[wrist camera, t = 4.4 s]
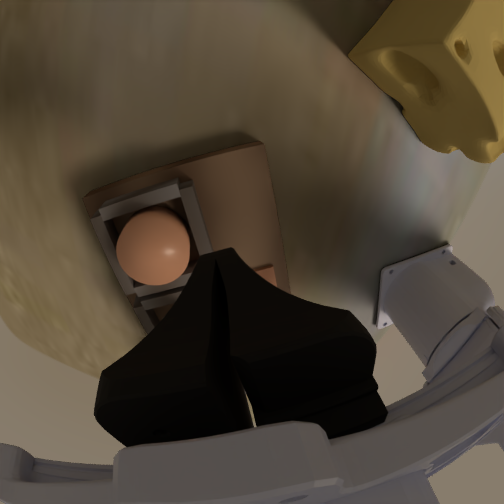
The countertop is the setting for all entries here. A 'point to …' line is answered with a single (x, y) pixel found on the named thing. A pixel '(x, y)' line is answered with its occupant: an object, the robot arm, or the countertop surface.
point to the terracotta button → (154, 246)
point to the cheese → (442, 71)
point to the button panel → (197, 218)
